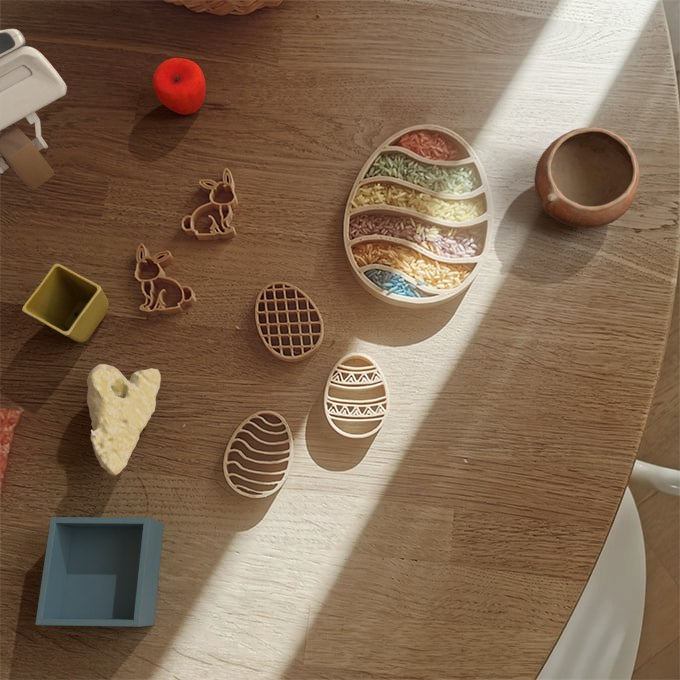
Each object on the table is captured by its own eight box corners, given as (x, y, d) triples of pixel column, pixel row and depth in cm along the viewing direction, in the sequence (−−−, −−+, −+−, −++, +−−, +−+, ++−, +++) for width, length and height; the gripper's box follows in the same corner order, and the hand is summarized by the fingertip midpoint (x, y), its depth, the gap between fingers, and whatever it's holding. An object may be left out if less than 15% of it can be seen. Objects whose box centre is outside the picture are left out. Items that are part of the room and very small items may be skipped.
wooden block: (40, 157, 105) (14, 123, 97) (56, 174, 103) (31, 141, 96) (17, 174, 104) (-11, 141, 96) (33, 192, 103) (6, 159, 95)
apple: (152, 103, 130) (138, 72, 122) (192, 75, 131) (180, 43, 124) (182, 134, 127) (169, 105, 120) (222, 105, 129) (212, 75, 121)
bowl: (520, 227, 117) (532, 194, 108) (538, 147, 122) (551, 108, 113) (620, 248, 115) (641, 217, 106) (633, 165, 120) (655, 128, 111)
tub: (56, 623, 100) (34, 625, 94) (70, 522, 105) (50, 517, 99) (154, 625, 100) (138, 626, 93) (163, 523, 104) (149, 517, 98)
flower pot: (90, 356, 114) (66, 336, 105) (46, 331, 116) (19, 309, 107) (122, 310, 116) (102, 287, 108) (79, 286, 118) (55, 261, 110)
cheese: (124, 360, 115) (39, 395, 104) (146, 342, 110) (59, 377, 99) (171, 445, 115) (91, 489, 104) (195, 431, 110) (114, 476, 99)
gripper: (-123, 103, 89) (-47, 202, 95) (28, 23, 92) (91, 124, 98) (-114, 102, 94) (-43, 196, 100) (28, 27, 97) (88, 122, 104)
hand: (25, 160), depth 99 cm, fingers closed on wooden block, 4 cm apart
